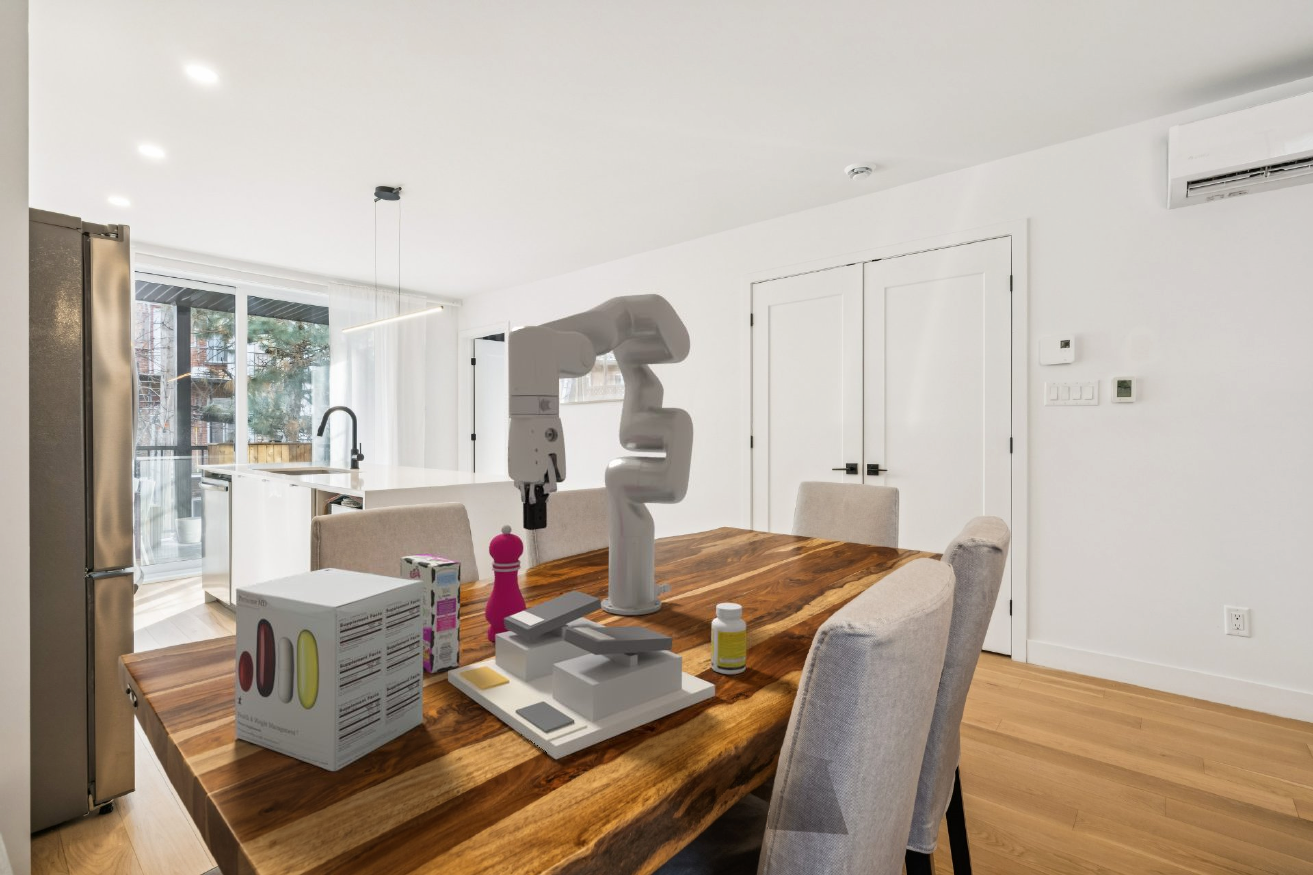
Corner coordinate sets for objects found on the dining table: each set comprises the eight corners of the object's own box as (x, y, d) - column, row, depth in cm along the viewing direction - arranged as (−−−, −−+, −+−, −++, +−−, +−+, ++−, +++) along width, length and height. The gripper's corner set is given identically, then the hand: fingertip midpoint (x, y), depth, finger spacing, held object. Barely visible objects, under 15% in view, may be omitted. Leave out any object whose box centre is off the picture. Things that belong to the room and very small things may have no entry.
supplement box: (229, 741, 73) (230, 588, 73) (329, 697, 85) (330, 566, 85) (333, 775, 66) (334, 605, 66) (426, 722, 78) (427, 579, 78)
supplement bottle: (753, 670, 96) (753, 607, 96) (725, 678, 93) (726, 612, 93) (731, 659, 101) (731, 599, 101) (704, 666, 98) (704, 604, 98)
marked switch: (576, 599, 103) (574, 589, 102) (601, 608, 97) (600, 597, 97) (505, 628, 94) (503, 617, 94) (529, 640, 89) (527, 628, 89)
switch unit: (592, 642, 109) (592, 599, 109) (714, 695, 87) (715, 641, 87) (446, 681, 91) (446, 630, 91) (553, 760, 69) (553, 693, 69)
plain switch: (638, 637, 91) (640, 624, 91) (671, 649, 85) (673, 636, 86) (564, 640, 82) (566, 627, 82) (595, 655, 77) (597, 640, 77)
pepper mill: (531, 631, 114) (532, 522, 114) (519, 644, 107) (519, 528, 107) (493, 629, 115) (494, 521, 115) (478, 642, 108) (479, 527, 108)
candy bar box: (461, 666, 97) (462, 561, 97) (431, 675, 93) (432, 566, 93) (427, 649, 105) (427, 551, 105) (397, 656, 101) (398, 555, 101)
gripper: (582, 408, 92) (583, 532, 93) (530, 409, 103) (531, 519, 104) (538, 408, 87) (539, 538, 88) (488, 409, 98) (489, 525, 99)
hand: (535, 528), depth 96 cm, fingers closed
